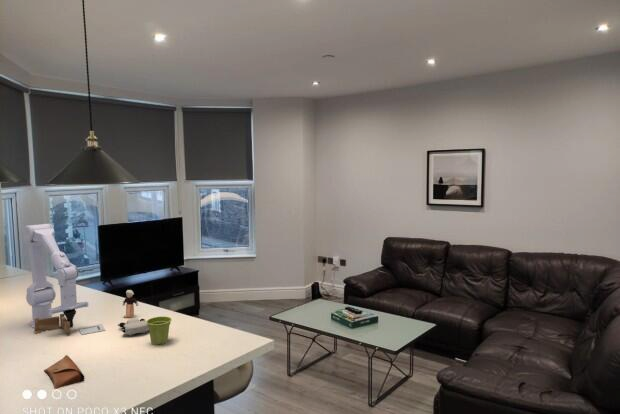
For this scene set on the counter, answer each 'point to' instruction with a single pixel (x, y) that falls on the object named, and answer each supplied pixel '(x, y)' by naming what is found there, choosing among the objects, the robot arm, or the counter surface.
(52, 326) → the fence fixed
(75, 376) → the sunglasses case
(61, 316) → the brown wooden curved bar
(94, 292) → the counter surface
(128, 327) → the robot toy
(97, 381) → the counter surface
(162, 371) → the counter surface
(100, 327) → the card
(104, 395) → the counter surface
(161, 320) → the plant pot
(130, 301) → the grandmother figurine
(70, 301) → the robot arm
